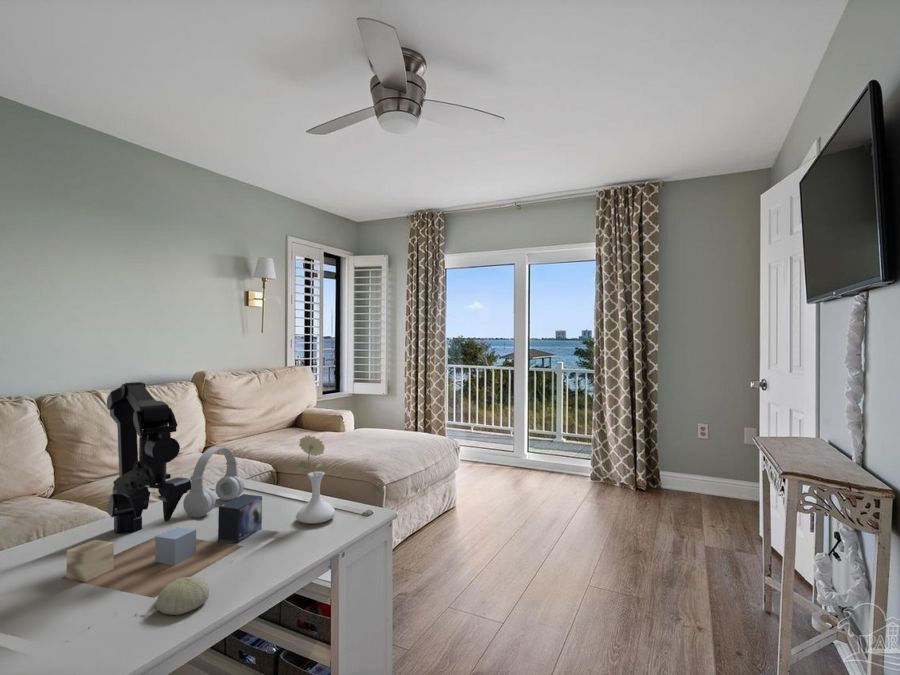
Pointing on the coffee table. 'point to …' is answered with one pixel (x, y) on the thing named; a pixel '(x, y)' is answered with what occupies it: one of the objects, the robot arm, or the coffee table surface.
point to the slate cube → (175, 545)
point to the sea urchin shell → (182, 595)
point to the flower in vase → (314, 486)
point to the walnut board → (156, 567)
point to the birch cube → (90, 560)
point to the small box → (239, 518)
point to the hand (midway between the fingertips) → (152, 519)
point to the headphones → (226, 488)
